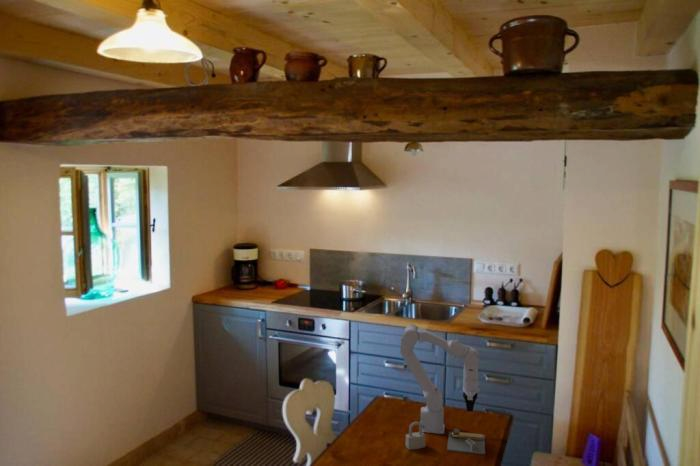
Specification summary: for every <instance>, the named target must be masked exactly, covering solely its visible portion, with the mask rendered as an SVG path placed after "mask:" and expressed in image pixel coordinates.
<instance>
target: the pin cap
mask: <svg viewBox="0 0 700 466" xmlns="http://www.w3.org/2000/svg"><path fill="white" fill-rule="evenodd" d="M453 432H454V434H459V432H460V429H459V428H454V429H453Z"/></svg>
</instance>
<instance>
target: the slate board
mask: <svg viewBox="0 0 700 466" xmlns="http://www.w3.org/2000/svg"><path fill="white" fill-rule="evenodd" d="M452 432H453V431H448V440H447V447H446V450H447V452H456V453H464V454H465V453H466V454H475V455H486V435H485V434H482V440H475V439H471V440H473V441H474V442H475V443H476V450H471V449H470V445H469V444H468V443H467V442H466V439H465V438H454V437H452Z"/></svg>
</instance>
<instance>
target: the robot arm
mask: <svg viewBox="0 0 700 466" xmlns="http://www.w3.org/2000/svg"><path fill="white" fill-rule="evenodd" d="M425 342H427V343H430V344H432V345H434V346H437V347H440V348H442V349H444V350H445V353H446V354H448V355H450V356H452V357H455V358H457V359H460V360H463V362H464V364H463V365H464V366H463V372H462V373H463V376H462V377H463V378H462V379H463V381H462V391H463V393H462V396H463V399H464V402H465V405H466V406H465V407H466V411H467V412H473V411H474V407H475V403H476V400H477V399H478V393H481V388H478V387H479V386H478V385H479V382H478V381H479V366H478V365H479V361H480V358H479V357H480V356H479V352H478V350H477V349H476V348H475V347H473V346H470V345H466V344H463V343H461V342H459V340H458V339H455V340H453V339H450V340H447V339H445V338H443V337H440V336H438V335H437V334H434V333H433V332H431V331H429V330H426V329H425V328H423V327H421V326H417V325H416V324H413V323H412V324H408V325H407V326H405V328H404V330H403V332H402V336H401V338H400V348H399V349H400V355H401V358H403V360H404V362H405V364H406V365H407V367H408V369H409V370H410V372H411V373H412V376H413V377H414V379H415V380H416V382H417V384H418V385H419V387H420V389H421V391H422V393H423V396H424V399H425V401H426V405H425V406H422V407H421V408H420V420H419V422H420V423H421V424H422V432H423V433H428V434H429V433H430V434H437V435H439V434H441V435H444V434H445V428H446V425H445V424H444V423H445V422H444V420H445V418H444V417H445V415H444V414H445V413H444V409H445V407H444V405H443V399H444V394H443V392H442V390H441V389H439V388H437V387H436V384H434V383H433V382H432V380H431V378H430V377H429V375H428V374H427V372H426V369H424V366H423V365H422V363H421V361H420V360H419V358H418V357H417V355H416V354H415V352H414V347H415V345H416V344H417V343H418V344H422V343H425Z"/></svg>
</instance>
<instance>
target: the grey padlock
mask: <svg viewBox="0 0 700 466" xmlns="http://www.w3.org/2000/svg"><path fill="white" fill-rule="evenodd" d="M414 426H418V431H417V432H416V431H415V432H413V427H414ZM405 447H406V449H407V450H409V451H410V450H418V449H422V448H425V447H426V434H425V432H422V424H421V423H420V421H413V422H411V424H410V425H409V427H408V433H406V434H405Z"/></svg>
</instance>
